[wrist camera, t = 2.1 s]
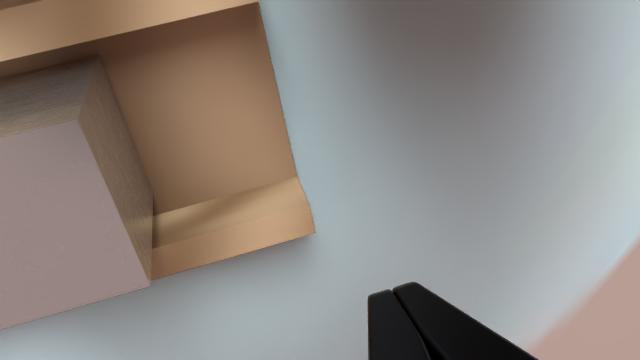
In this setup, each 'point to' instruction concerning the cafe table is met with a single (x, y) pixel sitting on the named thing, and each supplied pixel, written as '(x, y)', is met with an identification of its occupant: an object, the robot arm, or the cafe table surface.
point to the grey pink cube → (68, 194)
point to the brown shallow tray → (182, 114)
